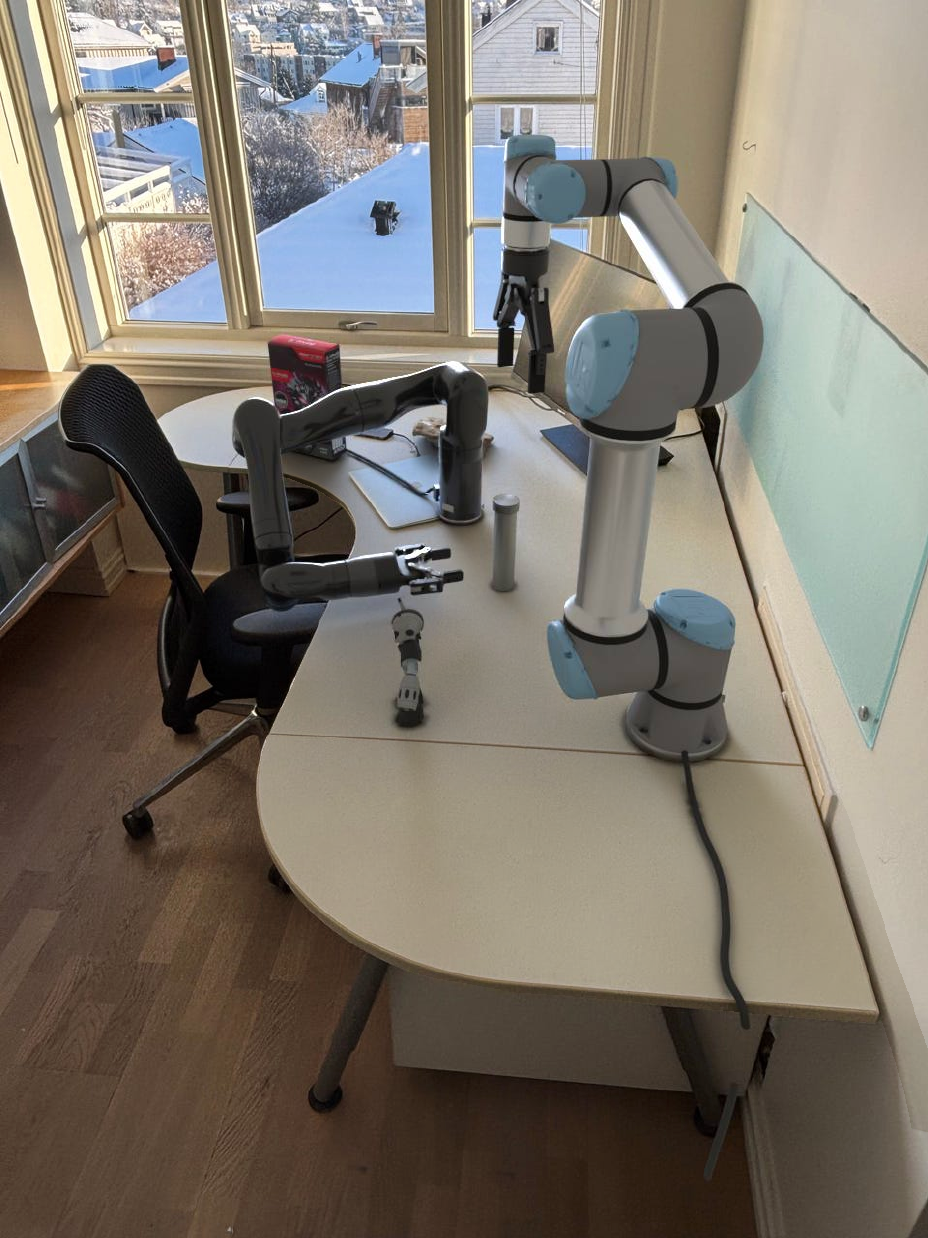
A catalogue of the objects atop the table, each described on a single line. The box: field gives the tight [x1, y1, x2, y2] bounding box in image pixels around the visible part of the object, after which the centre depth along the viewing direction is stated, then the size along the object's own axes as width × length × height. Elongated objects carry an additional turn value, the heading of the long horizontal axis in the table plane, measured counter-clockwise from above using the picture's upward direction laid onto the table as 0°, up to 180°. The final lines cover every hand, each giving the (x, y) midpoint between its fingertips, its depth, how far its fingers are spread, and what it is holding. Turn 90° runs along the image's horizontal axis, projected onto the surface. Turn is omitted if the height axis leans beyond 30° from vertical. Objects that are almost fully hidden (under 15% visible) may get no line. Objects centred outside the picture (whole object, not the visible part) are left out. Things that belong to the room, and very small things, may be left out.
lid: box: [492, 493, 521, 515], centre depth 168 cm, size 5×5×2 cm
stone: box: [411, 416, 495, 458], centre depth 231 cm, size 21×15×6 cm
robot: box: [390, 597, 425, 728], centre depth 141 cm, size 20×5×20 cm, turn 3°
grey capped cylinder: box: [491, 511, 518, 592], centre depth 173 cm, size 4×4×18 cm
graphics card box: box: [267, 333, 348, 461], centre depth 223 cm, size 17×7×27 cm, turn 62°
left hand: (456, 563), depth 172 cm, fingers open, 8 cm apart
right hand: (520, 378), depth 156 cm, fingers open, 13 cm apart
